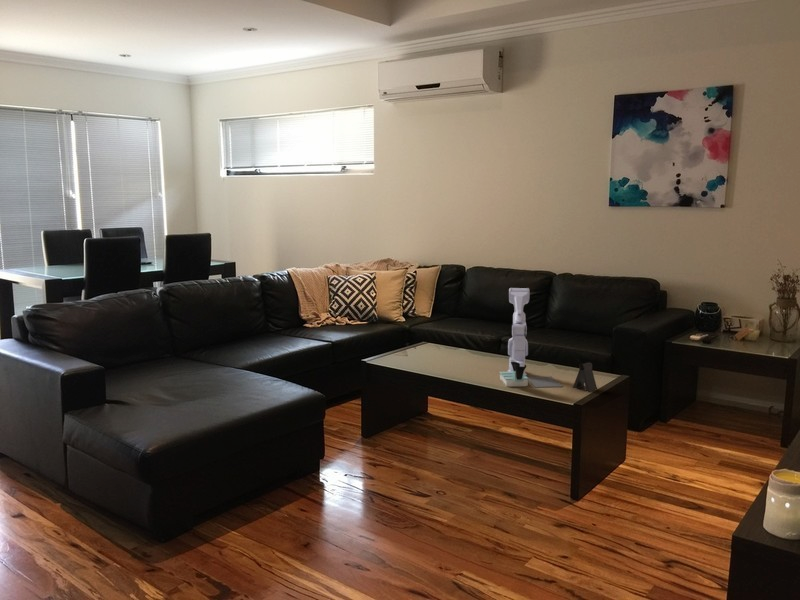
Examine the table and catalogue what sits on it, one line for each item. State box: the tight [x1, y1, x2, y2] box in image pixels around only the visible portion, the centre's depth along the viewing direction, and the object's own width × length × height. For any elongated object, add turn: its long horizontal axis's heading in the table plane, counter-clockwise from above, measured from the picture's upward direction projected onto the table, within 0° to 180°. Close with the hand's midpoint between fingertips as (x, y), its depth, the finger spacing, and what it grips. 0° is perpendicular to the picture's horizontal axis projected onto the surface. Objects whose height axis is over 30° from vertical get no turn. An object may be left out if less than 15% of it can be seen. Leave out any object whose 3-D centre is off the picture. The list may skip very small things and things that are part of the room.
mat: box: [526, 375, 564, 389], centre depth 321 cm, size 18×13×1 cm
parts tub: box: [499, 373, 529, 387], centre depth 320 cm, size 13×10×3 cm
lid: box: [498, 371, 528, 382], centre depth 318 cm, size 17×11×4 cm, turn 4°
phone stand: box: [572, 361, 598, 393], centre depth 309 cm, size 9×6×12 cm, turn 40°
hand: (518, 378), depth 311 cm, fingers closed on lid, 3 cm apart
